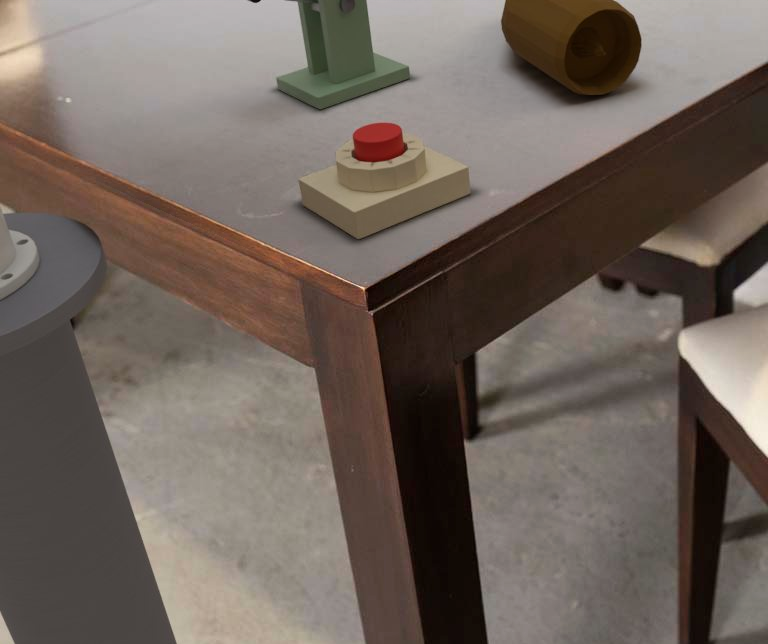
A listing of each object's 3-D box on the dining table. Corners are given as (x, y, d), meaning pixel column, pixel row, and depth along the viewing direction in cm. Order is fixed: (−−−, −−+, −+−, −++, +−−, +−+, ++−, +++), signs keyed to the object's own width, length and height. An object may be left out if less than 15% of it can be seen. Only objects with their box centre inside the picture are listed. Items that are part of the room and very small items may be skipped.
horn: (523, 41, 116) (643, 117, 96) (439, 12, 112) (547, 86, 92) (554, -35, 113) (684, 28, 93) (469, -67, 108) (586, -9, 88)
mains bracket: (319, 110, 100) (302, 0, 94) (277, 89, 106) (259, -15, 100) (410, 78, 104) (399, -29, 98) (365, 60, 110) (351, -42, 104)
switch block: (358, 240, 78) (350, 188, 76) (302, 205, 84) (293, 156, 82) (470, 193, 82) (466, 143, 80) (410, 163, 88) (405, 115, 86)
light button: (372, 169, 79) (369, 146, 78) (346, 155, 82) (343, 133, 81) (414, 153, 80) (411, 130, 79) (386, 140, 83) (384, 118, 82)
